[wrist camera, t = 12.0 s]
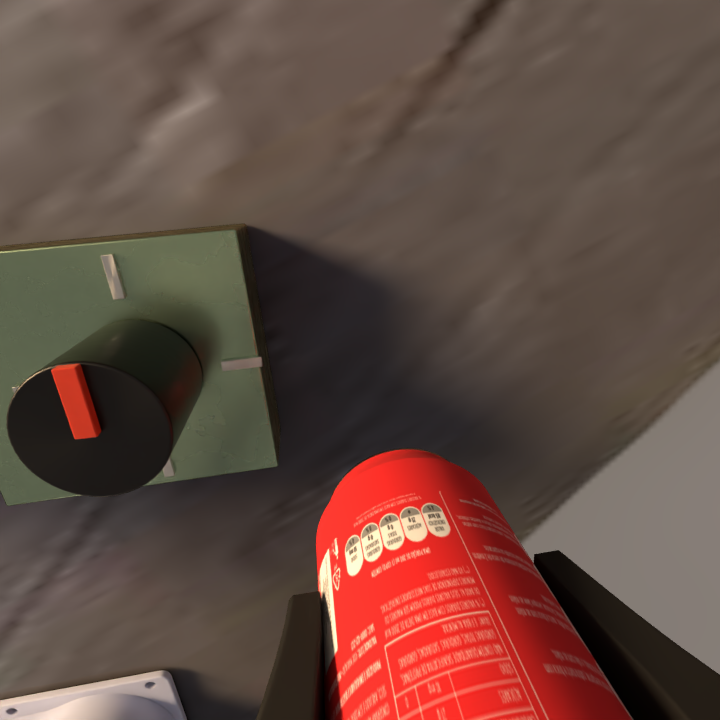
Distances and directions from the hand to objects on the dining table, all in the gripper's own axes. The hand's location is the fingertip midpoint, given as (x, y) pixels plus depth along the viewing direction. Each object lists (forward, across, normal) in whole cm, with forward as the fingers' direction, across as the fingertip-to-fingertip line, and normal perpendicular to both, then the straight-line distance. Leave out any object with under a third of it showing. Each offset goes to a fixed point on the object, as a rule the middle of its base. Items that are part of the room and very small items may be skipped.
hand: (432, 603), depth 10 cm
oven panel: (+10, +9, -4) cm, 14 cm away
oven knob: (+7, +8, -4) cm, 12 cm away
